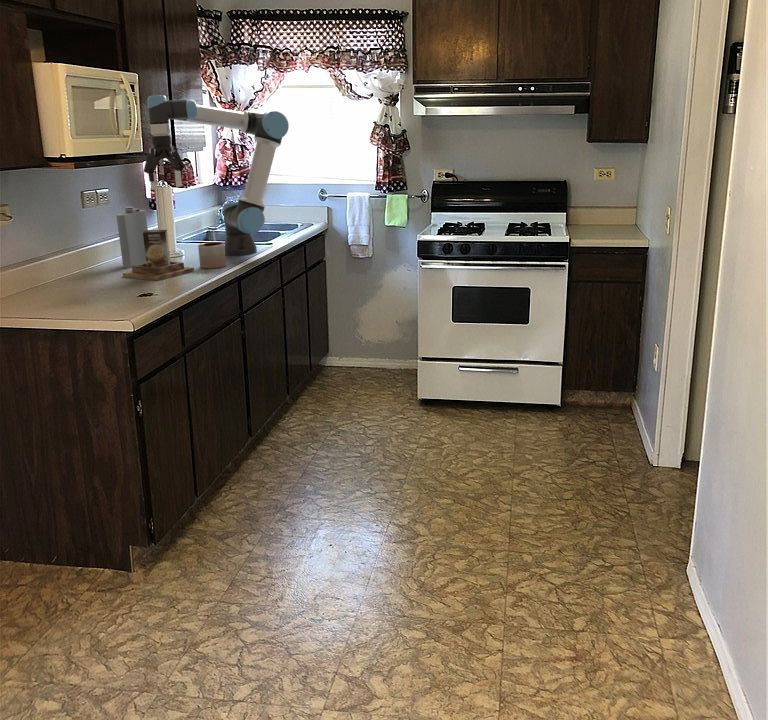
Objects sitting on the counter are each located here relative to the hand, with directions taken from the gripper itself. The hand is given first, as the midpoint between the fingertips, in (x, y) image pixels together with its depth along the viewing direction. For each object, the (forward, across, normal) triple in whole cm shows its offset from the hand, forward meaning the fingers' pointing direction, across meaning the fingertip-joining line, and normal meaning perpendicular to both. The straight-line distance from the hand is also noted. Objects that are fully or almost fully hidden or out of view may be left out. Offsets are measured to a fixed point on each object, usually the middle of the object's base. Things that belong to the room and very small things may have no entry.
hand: (167, 188), depth 334 cm
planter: (+33, -5, +17) cm, 37 cm away
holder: (+33, +16, +7) cm, 37 cm away
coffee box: (+31, +16, +7) cm, 36 cm away
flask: (+33, +4, -20) cm, 39 cm away
